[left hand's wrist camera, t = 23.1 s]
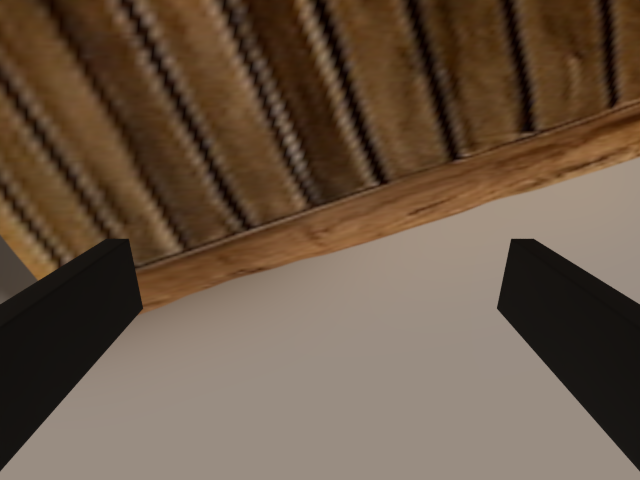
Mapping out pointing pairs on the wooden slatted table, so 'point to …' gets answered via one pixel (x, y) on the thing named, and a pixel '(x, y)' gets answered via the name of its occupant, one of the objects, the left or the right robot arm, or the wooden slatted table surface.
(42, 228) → the wooden slatted table surface
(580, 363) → the left robot arm
